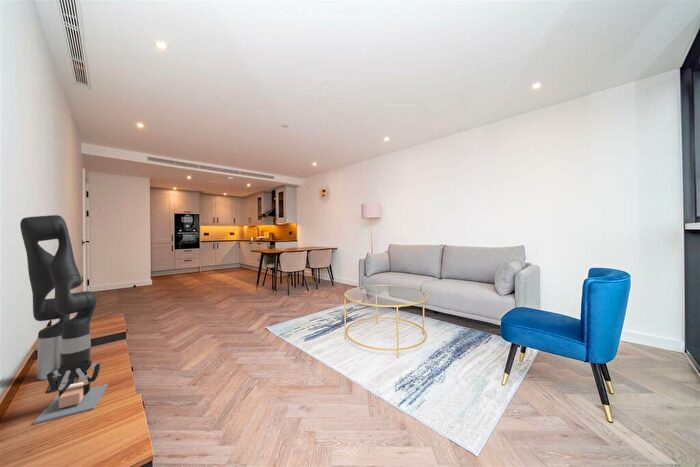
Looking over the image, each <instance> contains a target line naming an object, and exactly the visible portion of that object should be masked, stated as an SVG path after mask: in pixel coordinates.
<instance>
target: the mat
mask: <svg viewBox="0 0 700 467" xmlns="http://www.w3.org/2000/svg"><path fill="white" fill-rule="evenodd" d="M108 386H109V384H108V383H105V384H102V385H95V386H92V387H91V386H90V391H89V392H88V393H87V394H86V395H85V396H84V398H83V399H82V400H81V402H80V403H79V404H75V405H71V406H67V407H63V408H59V394H57V396H55V397H54V399H53V400H52V401H51V402H50V403H49V404H48V406H47V407H46V408H45V409H44V410H43V411H42V412H41V414H40V415H38V417H37V418H35V420H34V421H33V422H32V426H33V425H37V424H41V423H44V422H45V423H46V422H49V421H52V420H53V421H54V420H57V419H60V418H65V417H69V416H73V415H76V414H80V413H84V412H89V411H92V410H95V408H96V406H97V405H98V404H99V401H100V399H101V398H102V396H103V395H104V393H105V391H106V389H107V388H108Z"/></svg>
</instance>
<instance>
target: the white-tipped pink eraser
mask: <svg viewBox="0 0 700 467" xmlns="http://www.w3.org/2000/svg"><path fill="white" fill-rule="evenodd" d="M83 385H84V383H83V381H81V382H79V381H78V383H75V384H71V385H70V386H69V387H68V388H67V389H66V391H65V392H64V393H63V394H62V395H61V396H60V397H59V408H63V407H67V406H71V405H75V404H79V403H80V402H81V400H82V399H83V398H84V396H85V395H83Z"/></svg>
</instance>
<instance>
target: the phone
mask: <svg viewBox="0 0 700 467" xmlns="http://www.w3.org/2000/svg"><path fill="white" fill-rule="evenodd" d="M62 379H63V376H62V375H61V376H57V380H58V383H59V384H61V382H62ZM79 379H80V377H78V378H72V379H69V380H68V382H67V384H66V387H67V388H68V387H69V386H70V385H71V384H75V383H79ZM55 392H59V390H58V389H54V390H51V387H50V386H49V387H48V389H47V394H52V393H55Z"/></svg>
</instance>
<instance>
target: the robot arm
mask: <svg viewBox="0 0 700 467" xmlns="http://www.w3.org/2000/svg"><path fill="white" fill-rule="evenodd" d="M19 226H20V232H21V236H22V240H23V245H24V248H25V251H26V259H27V270H28V272H27V273H28V278H29V282H30V286H31V291H32V314H33V318H34V320H35V321H37V322H45V321H54V320H58V321H57V322H55V323H54V324H52V325H50V326H47V327H44V328H43V329H42V328H41V329H40V330H39V331H38V334H37V369H36V372H37V373H36V378H37V380H39V381H41V380H42V381H43V380H47V382H48V384H49V387H51V390H54V389H58V390H59V391H58V395H59V397H60V396H61V395H62V394H63V393H64V392H65V391H66V389H67V387H66V384H67V382H68V380H69V379H72V378H78V377H79V379H80V380H81V382H83V383H84V385H83V395H86V394H87V393H88V392H89V391H90V388H91V383H92V382H95V381H96V380H97V378H98V375H99V373H100V370H101V367H102V365H103V364H102V362H101V361H98V362H92V361H91V345H92V343H91V335H90V333H91V332H90V330H91V327H90V326H91V325H90V324H91V320H92V317H93V314H94V312H95V310H96V306H97V300H98V299H97V295H96V294H95V293H94V292H92V291H88V290H86V291H85V290H84V291H79V292H72V290H73V289H77V288H79V287H80V286H81V285H82V284H83V279H82V275H81V274H80V272H79V268H78V266H77V263H76V260H75V256H74V252H73V247H72V246H73V245H72V242H71V236H70V233H69V229H68V226H67V223H66V221H65V219H64V217H63V216H61V215H57V214H55V215H54V214H52V215H50V214H49V215H40V216H39V215H38V216H27V217H23V218H22V219H21V220H20V224H19ZM52 240H57V241H58V242H57V243H58V247H57V250H56V252H55V254H51V253H50V252H48V251H47V250H45V249H44V248H43V247H42V246H41V245H40V244H39V242H44V241H52ZM53 290H54V297H53V298H52V297H51V298H47V296H48V295H49V294H50V293H51V292H52V291H53ZM71 292H72V293H71ZM71 314H75V316H74V317H73V318H71ZM90 368H91V370H93V373H92V376H90V373H89V372H88V370H89V369H90ZM61 375H62V376H63V379H62V382H61V384H59V383H58V380H57V376H61Z"/></svg>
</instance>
